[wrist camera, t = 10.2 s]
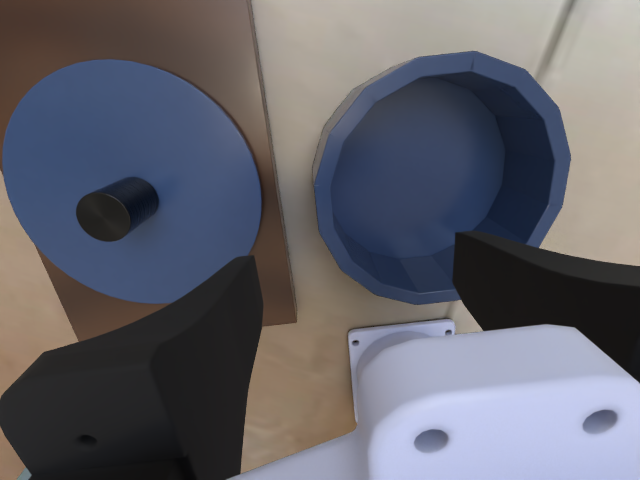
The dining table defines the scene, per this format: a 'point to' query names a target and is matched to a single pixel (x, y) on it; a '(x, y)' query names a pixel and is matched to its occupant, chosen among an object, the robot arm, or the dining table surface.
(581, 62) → the dining table surface
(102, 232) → the lid
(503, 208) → the tin
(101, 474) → the robot arm
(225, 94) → the board
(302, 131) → the dining table surface
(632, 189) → the dining table surface
